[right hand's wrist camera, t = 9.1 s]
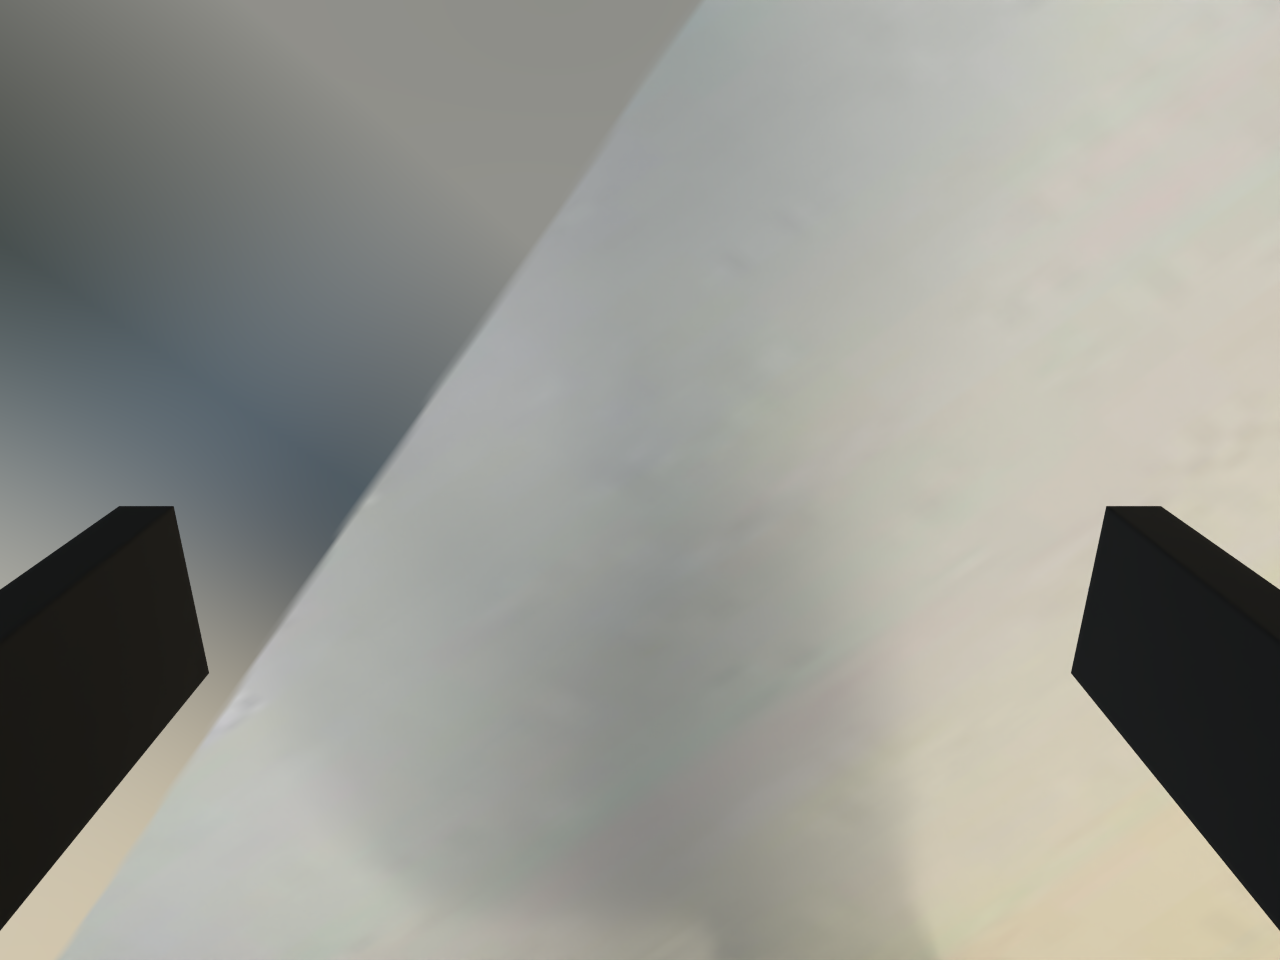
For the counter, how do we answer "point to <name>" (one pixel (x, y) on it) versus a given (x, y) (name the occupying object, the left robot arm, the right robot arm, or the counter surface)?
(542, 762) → the counter surface
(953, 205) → the counter surface
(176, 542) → the right robot arm
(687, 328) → the counter surface
